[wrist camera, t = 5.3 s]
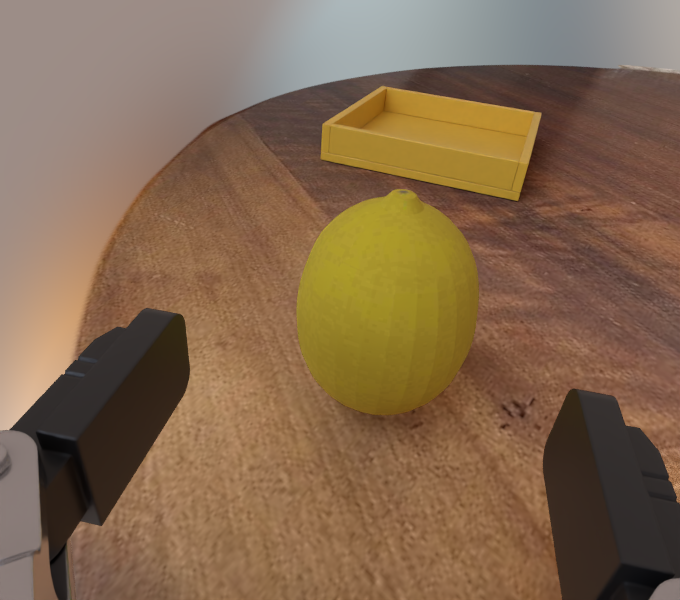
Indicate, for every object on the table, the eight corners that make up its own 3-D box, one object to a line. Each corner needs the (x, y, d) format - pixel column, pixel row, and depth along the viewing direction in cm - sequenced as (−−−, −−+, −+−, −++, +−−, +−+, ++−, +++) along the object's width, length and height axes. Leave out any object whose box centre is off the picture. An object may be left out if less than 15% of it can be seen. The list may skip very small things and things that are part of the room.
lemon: (437, 358, 21) (484, 164, 17) (460, 474, 17) (533, 249, 12) (299, 348, 21) (308, 149, 17) (284, 461, 17) (291, 229, 12)
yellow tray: (320, 159, 39) (322, 123, 38) (378, 114, 50) (381, 85, 49) (517, 201, 35) (528, 163, 34) (533, 143, 47) (542, 112, 45)
